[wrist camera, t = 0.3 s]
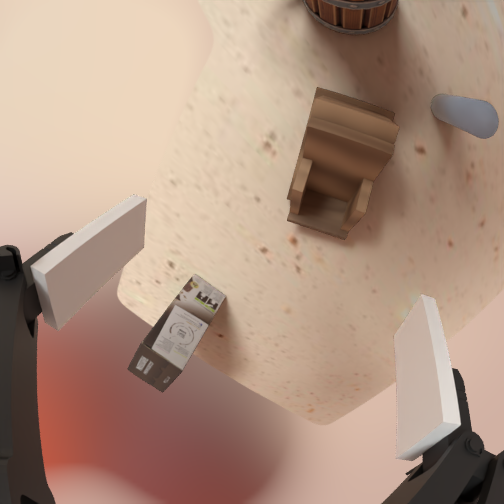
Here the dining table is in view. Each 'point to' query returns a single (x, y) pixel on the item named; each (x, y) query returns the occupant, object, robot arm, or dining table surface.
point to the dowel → (466, 114)
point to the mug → (352, 14)
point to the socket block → (339, 162)
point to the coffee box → (176, 334)
